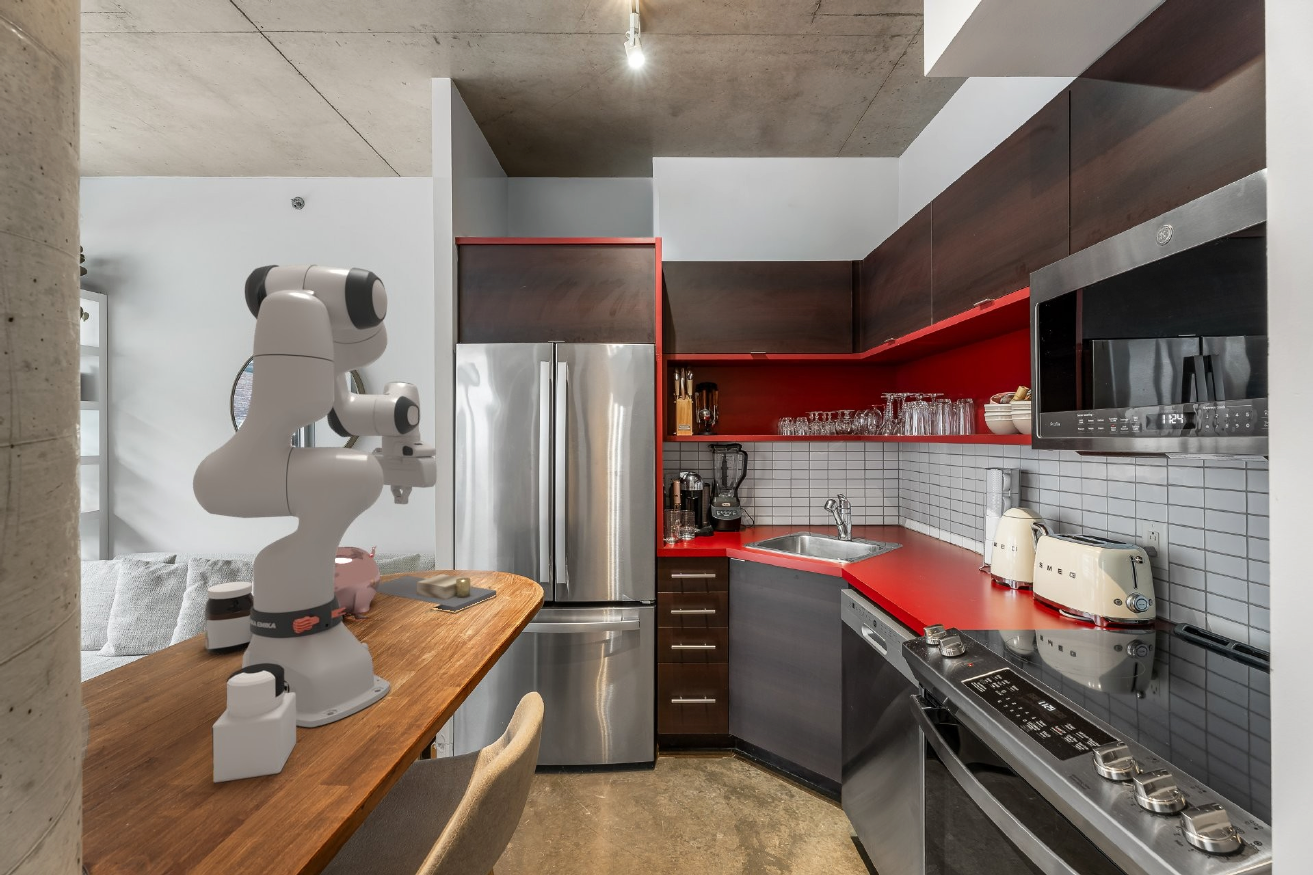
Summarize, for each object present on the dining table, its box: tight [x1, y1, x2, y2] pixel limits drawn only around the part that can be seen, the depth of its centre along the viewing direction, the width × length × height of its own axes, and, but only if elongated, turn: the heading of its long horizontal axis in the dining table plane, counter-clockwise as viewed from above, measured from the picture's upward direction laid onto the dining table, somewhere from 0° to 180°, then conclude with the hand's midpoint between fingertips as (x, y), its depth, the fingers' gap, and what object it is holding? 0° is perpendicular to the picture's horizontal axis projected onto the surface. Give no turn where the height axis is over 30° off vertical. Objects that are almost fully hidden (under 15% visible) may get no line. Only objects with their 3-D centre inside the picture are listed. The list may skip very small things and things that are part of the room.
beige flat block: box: [417, 573, 465, 600], centre depth 142 cm, size 9×8×3 cm
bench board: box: [376, 575, 497, 612], centre depth 144 cm, size 30×14×2 cm, turn 65°
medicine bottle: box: [211, 663, 297, 783], centre depth 74 cm, size 7×7×12 cm
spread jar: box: [204, 581, 254, 655], centre depth 111 cm, size 12×11×12 cm
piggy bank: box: [334, 546, 381, 621], centre depth 129 cm, size 15×18×16 cm
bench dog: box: [456, 577, 471, 598], centre depth 139 cm, size 3×3×4 cm
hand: (401, 503), depth 146 cm, fingers closed
